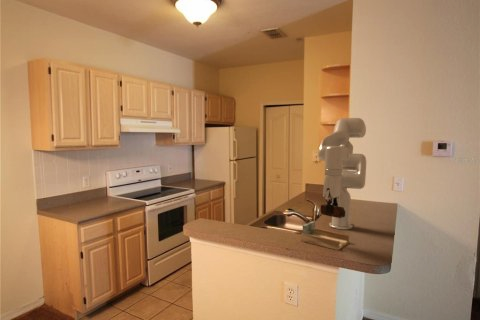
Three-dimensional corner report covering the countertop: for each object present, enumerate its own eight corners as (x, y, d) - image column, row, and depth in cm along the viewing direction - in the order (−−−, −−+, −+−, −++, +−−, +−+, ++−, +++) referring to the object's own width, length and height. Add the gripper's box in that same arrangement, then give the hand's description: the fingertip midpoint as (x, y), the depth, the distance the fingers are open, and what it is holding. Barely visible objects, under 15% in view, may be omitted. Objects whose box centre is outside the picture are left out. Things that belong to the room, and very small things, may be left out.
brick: (320, 214, 138) (320, 204, 137) (324, 213, 140) (325, 203, 140) (340, 218, 130) (341, 208, 129) (345, 217, 132) (345, 207, 132)
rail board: (313, 234, 149) (313, 220, 148) (348, 242, 137) (349, 227, 137) (300, 240, 139) (301, 226, 138) (338, 250, 127) (338, 233, 127)
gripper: (332, 171, 143) (331, 208, 144) (317, 173, 130) (316, 213, 131) (347, 172, 138) (346, 210, 139) (334, 174, 125) (332, 216, 126)
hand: (331, 211), depth 135 cm, fingers closed on brick, 4 cm apart
